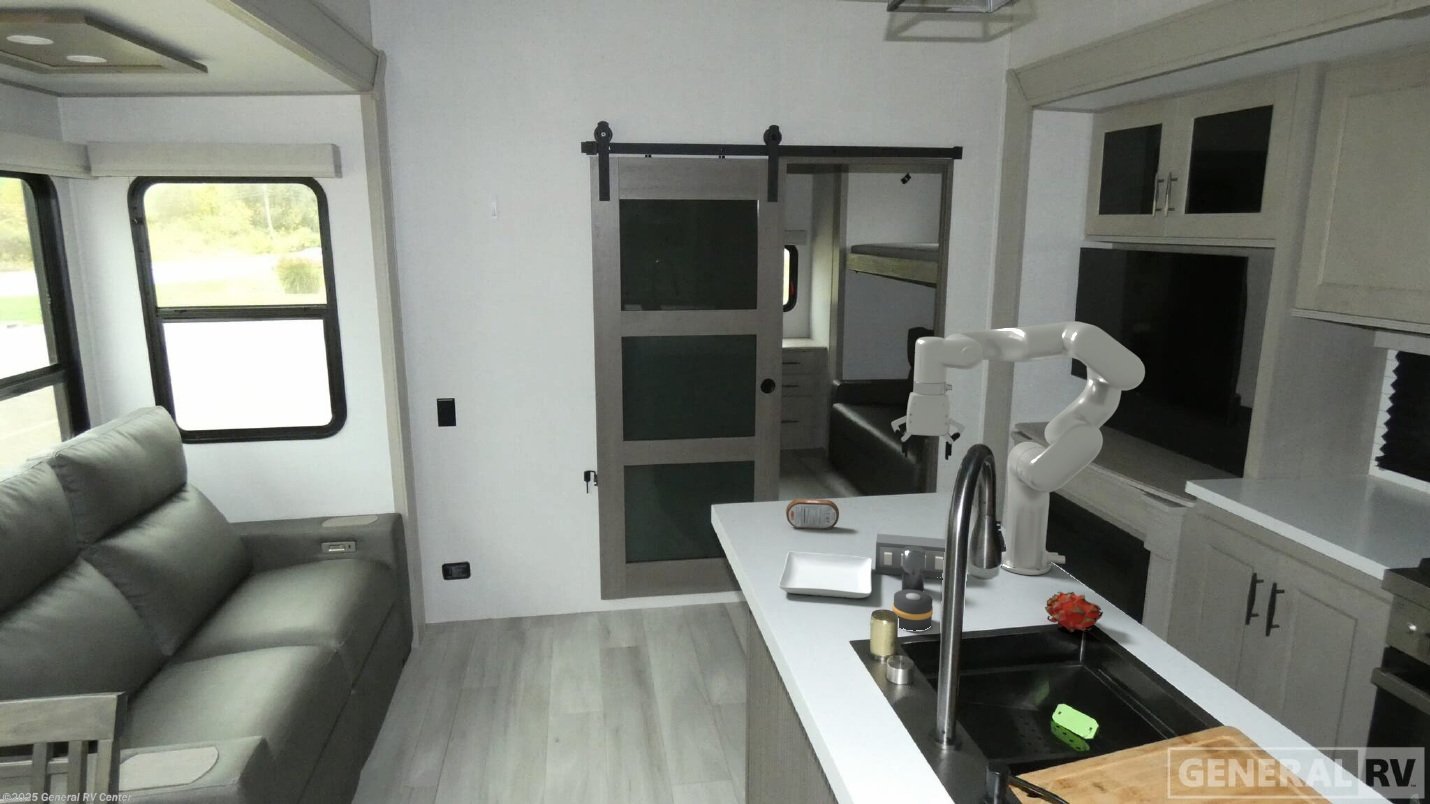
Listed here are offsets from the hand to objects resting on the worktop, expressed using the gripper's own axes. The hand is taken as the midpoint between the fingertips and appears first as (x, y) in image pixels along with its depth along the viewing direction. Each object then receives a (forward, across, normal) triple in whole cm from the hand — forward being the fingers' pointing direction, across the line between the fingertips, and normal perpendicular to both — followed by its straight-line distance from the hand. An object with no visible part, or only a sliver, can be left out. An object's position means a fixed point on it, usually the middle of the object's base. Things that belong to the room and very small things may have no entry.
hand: (926, 457), depth 196 cm
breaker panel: (+28, +2, +4) cm, 29 cm away
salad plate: (+29, +22, +15) cm, 39 cm away
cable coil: (+28, +2, +32) cm, 43 cm away
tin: (+29, +30, -21) cm, 46 cm away
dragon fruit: (+29, -31, +26) cm, 50 cm away
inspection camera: (+28, +2, +15) cm, 32 cm away
